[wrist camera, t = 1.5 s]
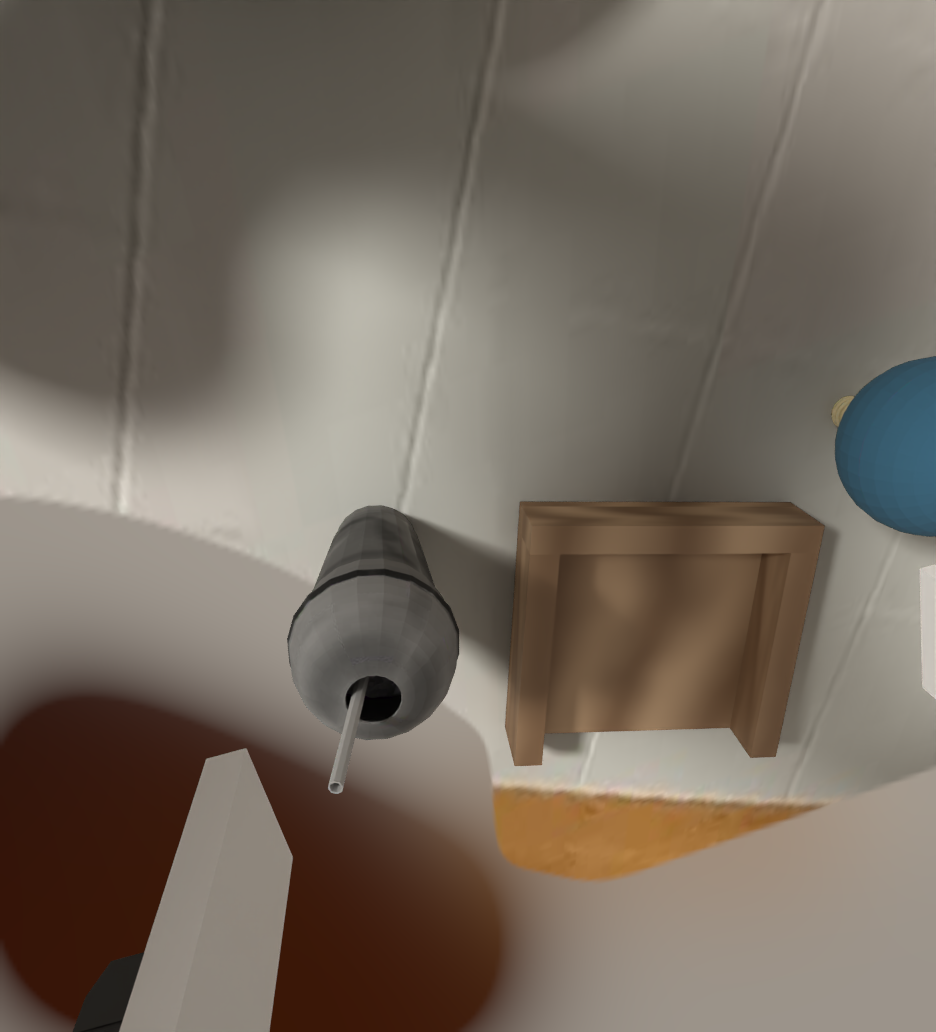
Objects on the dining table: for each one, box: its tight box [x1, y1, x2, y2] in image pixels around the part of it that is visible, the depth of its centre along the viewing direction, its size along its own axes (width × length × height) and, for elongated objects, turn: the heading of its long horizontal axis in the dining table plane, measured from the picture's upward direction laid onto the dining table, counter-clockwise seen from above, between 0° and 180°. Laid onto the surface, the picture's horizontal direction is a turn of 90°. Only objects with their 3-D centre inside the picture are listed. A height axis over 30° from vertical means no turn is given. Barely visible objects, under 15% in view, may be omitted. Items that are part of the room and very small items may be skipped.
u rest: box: [505, 502, 825, 766], centre depth 45 cm, size 16×15×4 cm
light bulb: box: [831, 356, 936, 536], centre depth 38 cm, size 8×8×12 cm
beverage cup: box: [287, 506, 459, 794], centre depth 34 cm, size 7×7×20 cm
